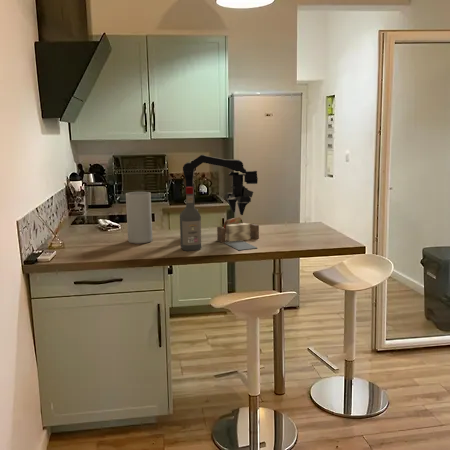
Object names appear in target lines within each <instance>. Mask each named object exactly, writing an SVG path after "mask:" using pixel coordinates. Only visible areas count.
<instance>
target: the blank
mask: <svg viewBox="0 0 450 450" xmlns="http://www.w3.org/2000/svg"><path fill="white" fill-rule="evenodd" d="M250 224H251V223H248V222H243V223H241V224H231V225H226V234H225V235H226V242H230V241H239V240H242V241H244V240H245V241H246V240H251V237H250Z"/></svg>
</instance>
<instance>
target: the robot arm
mask: <svg viewBox="0 0 450 450" xmlns="http://www.w3.org/2000/svg"><path fill="white" fill-rule="evenodd" d="M203 163H204V164H207V165H212V166H213V165H214V166H220V167H225V168H227V169H229V170H230V172H229V173H228V176H229V177H230V176H231V185H230V189H231V192H226V193H225V194H224V198H225V199H226V201H227V203H228V206H229V208H230V210H231V212H232V213H235V211H236V207H237V206H238V211H239V214H240V216H243V215H244V212H245V210H246V209H245V208H246V207H247V205H248V204H250V203H251V202H252V197H253V194H254V191H252V190H249V189H248V187H246V186H245V185H244V183H246V185H258V179H259V178H258V171H257V170H247V169H246V168H244V163H243V161H242V160H240V159H236V158H234V159H231V158H230V159H225V158H220V157H215V156H210V155H205V154H200V155H199V156H198V157H196V158H195V159H193V160H192V161H188V162H186V163H184V165H183V167H182V172H183V176H184V179H185V188H186V187H193V205H194V208H195V209H196V210H197V211H198V212H199V209H198V208H196V206H195V192H194V174H195V169H196V168H197V167H199V166H200V165H202V164H203ZM236 205H237V206H236Z"/></svg>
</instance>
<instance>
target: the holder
mask: <svg viewBox="0 0 450 450" xmlns="http://www.w3.org/2000/svg"><path fill="white" fill-rule="evenodd" d="M249 224H250V238H252V239H255V240H258V239H260V235H259V234H260V226H259V225H258V224H256V223H249ZM216 233H217V236H216V237H217V238H216V239H217V242H219V243H223V244H224V242H227V240H226V234H225V228H224V226H217V228H216Z"/></svg>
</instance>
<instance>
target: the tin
mask: <svg viewBox="0 0 450 450" xmlns="http://www.w3.org/2000/svg"><path fill="white" fill-rule="evenodd" d="M241 223H244V222H243V219H242V218H241V217H233V218H229V219H226V220H225V221H224V223H223V228H225V235H226V225H231V224H241Z"/></svg>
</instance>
